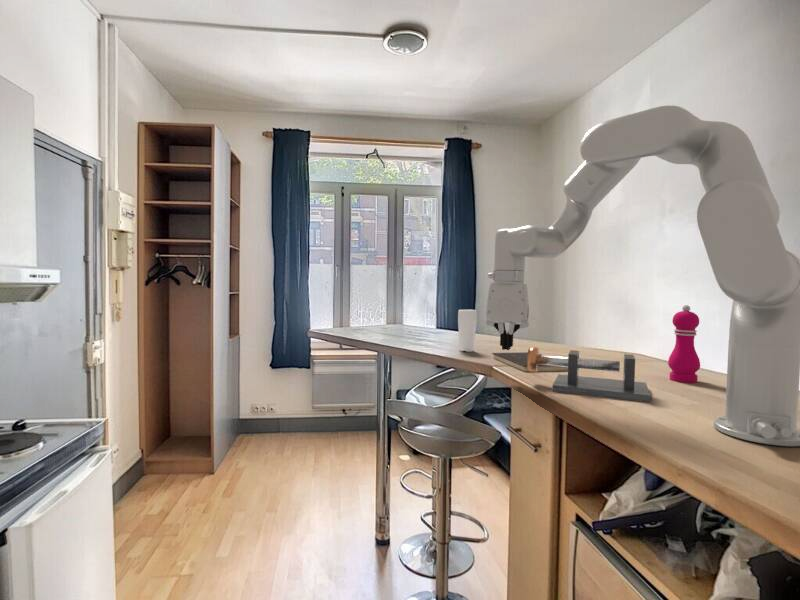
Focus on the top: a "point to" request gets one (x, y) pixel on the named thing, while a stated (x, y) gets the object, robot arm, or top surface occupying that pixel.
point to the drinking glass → (467, 329)
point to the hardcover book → (523, 362)
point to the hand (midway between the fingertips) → (506, 349)
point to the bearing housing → (602, 382)
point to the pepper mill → (684, 347)
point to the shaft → (537, 359)
